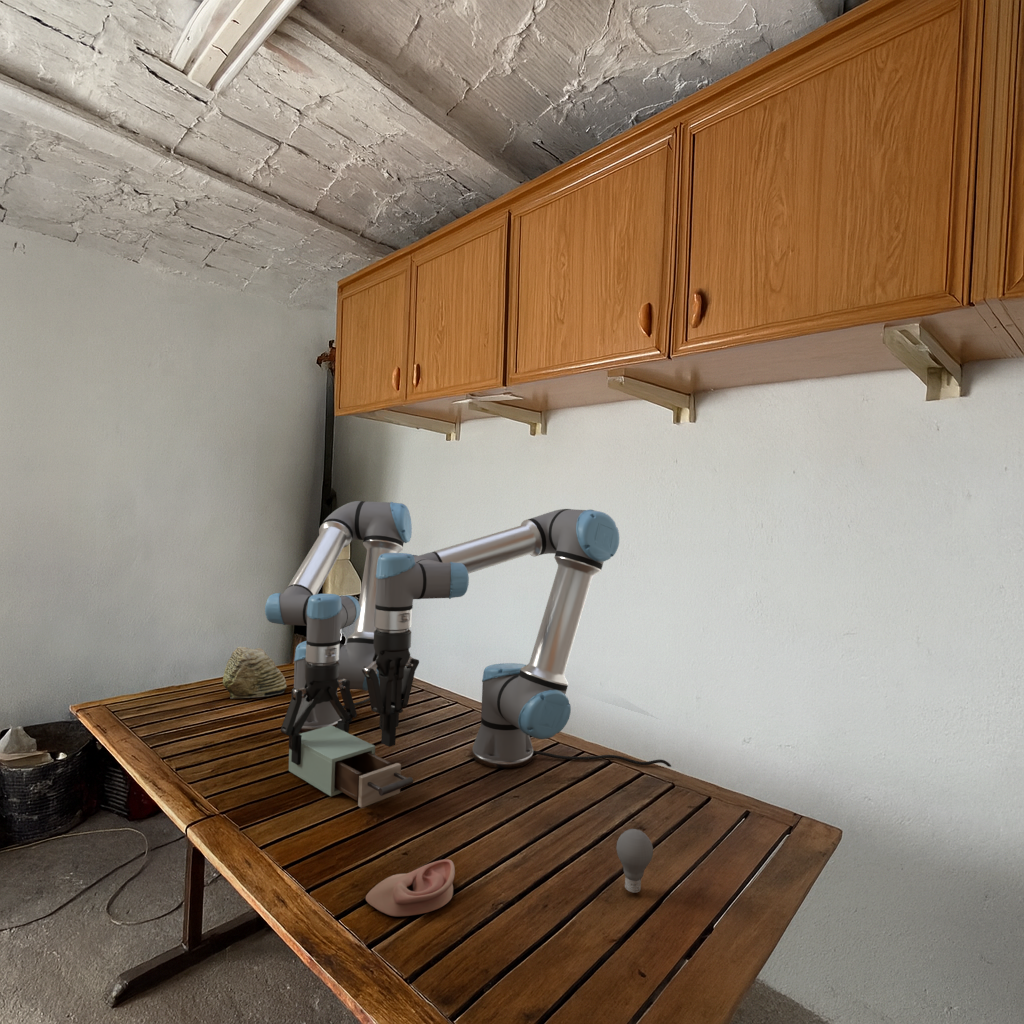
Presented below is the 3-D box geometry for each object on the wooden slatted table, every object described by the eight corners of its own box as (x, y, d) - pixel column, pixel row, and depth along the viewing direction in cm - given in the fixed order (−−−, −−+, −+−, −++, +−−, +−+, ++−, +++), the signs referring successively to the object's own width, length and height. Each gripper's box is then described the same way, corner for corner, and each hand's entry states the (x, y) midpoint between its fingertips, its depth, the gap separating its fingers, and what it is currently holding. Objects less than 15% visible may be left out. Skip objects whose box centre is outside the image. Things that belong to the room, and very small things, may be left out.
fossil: (218, 695, 195) (220, 647, 195) (278, 685, 208) (279, 640, 207) (228, 703, 189) (230, 653, 188) (289, 692, 201) (290, 645, 201)
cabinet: (374, 781, 142) (375, 745, 142) (330, 796, 134) (332, 759, 133) (330, 757, 154) (331, 725, 153) (288, 770, 145) (289, 736, 145)
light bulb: (610, 879, 108) (613, 822, 108) (644, 879, 109) (647, 822, 109) (619, 902, 102) (622, 840, 102) (655, 901, 103) (658, 840, 103)
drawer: (416, 801, 131) (417, 772, 131) (377, 817, 124) (378, 786, 123) (355, 769, 146) (356, 742, 146) (317, 781, 138) (318, 753, 138)
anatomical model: (357, 884, 98) (387, 845, 109) (356, 910, 98) (386, 868, 109) (440, 899, 95) (461, 857, 106) (439, 925, 95) (460, 881, 106)
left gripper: (283, 674, 135) (279, 775, 136) (374, 657, 153) (370, 747, 153) (266, 666, 140) (262, 764, 141) (356, 651, 158) (353, 738, 158)
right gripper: (377, 636, 122) (372, 758, 122) (429, 628, 131) (424, 741, 132) (355, 629, 127) (350, 746, 127) (406, 622, 136) (402, 731, 137)
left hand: (319, 755), depth 147 cm, fingers closed on cabinet, 11 cm apart
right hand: (388, 743), depth 129 cm, fingers closed
